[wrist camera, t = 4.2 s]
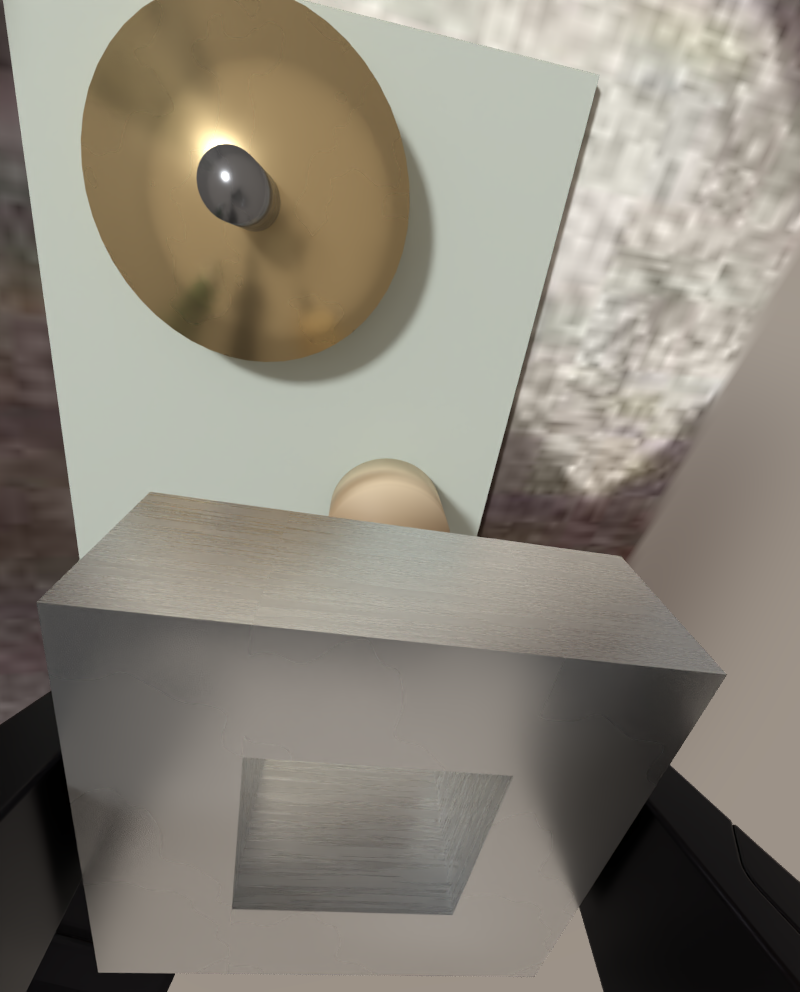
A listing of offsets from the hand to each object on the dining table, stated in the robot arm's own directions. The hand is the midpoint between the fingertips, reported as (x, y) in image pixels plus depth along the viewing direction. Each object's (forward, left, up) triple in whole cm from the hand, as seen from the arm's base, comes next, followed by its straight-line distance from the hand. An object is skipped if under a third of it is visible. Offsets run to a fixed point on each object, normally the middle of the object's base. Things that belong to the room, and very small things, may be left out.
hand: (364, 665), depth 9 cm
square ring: (0, 0, +1) cm, 1 cm away
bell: (+8, +5, -12) cm, 16 cm away
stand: (-3, -1, -12) cm, 13 cm away
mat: (+3, +3, -13) cm, 13 cm away
